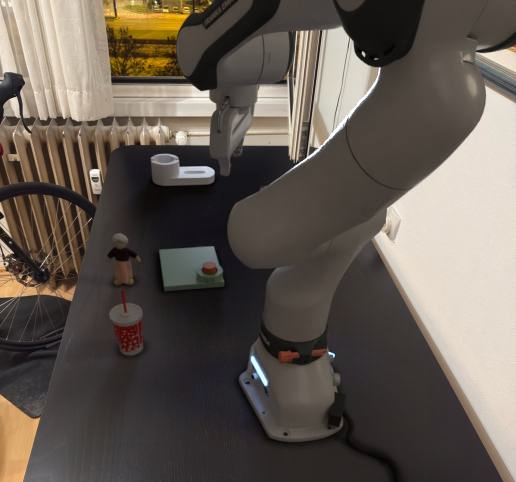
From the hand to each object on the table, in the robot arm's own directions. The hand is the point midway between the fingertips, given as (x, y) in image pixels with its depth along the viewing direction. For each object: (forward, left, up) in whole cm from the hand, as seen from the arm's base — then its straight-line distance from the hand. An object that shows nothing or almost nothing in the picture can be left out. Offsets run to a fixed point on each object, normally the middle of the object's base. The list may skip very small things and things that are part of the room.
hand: (231, 164), depth 96 cm
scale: (+6, +8, -29) cm, 30 cm away
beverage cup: (-20, +23, -29) cm, 42 cm away
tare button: (+1, +4, -26) cm, 26 cm away
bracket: (+58, +4, -29) cm, 65 cm away
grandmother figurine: (+3, +24, -29) cm, 37 cm away
